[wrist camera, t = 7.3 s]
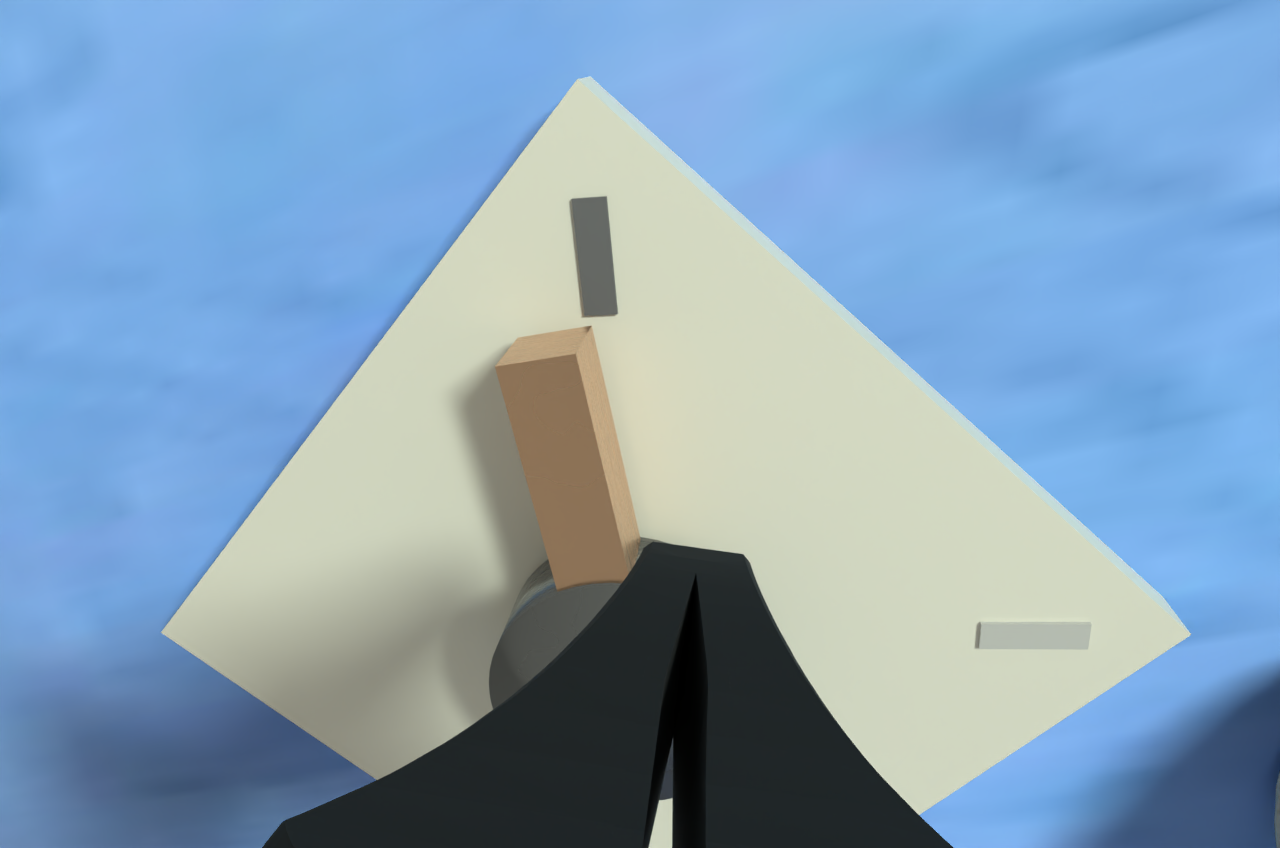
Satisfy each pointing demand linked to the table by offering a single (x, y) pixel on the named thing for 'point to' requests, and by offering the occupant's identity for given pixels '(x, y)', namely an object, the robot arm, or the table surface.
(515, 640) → the twist handle
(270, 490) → the base
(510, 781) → the robot arm
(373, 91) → the table surface
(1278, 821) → the ceramic mug
